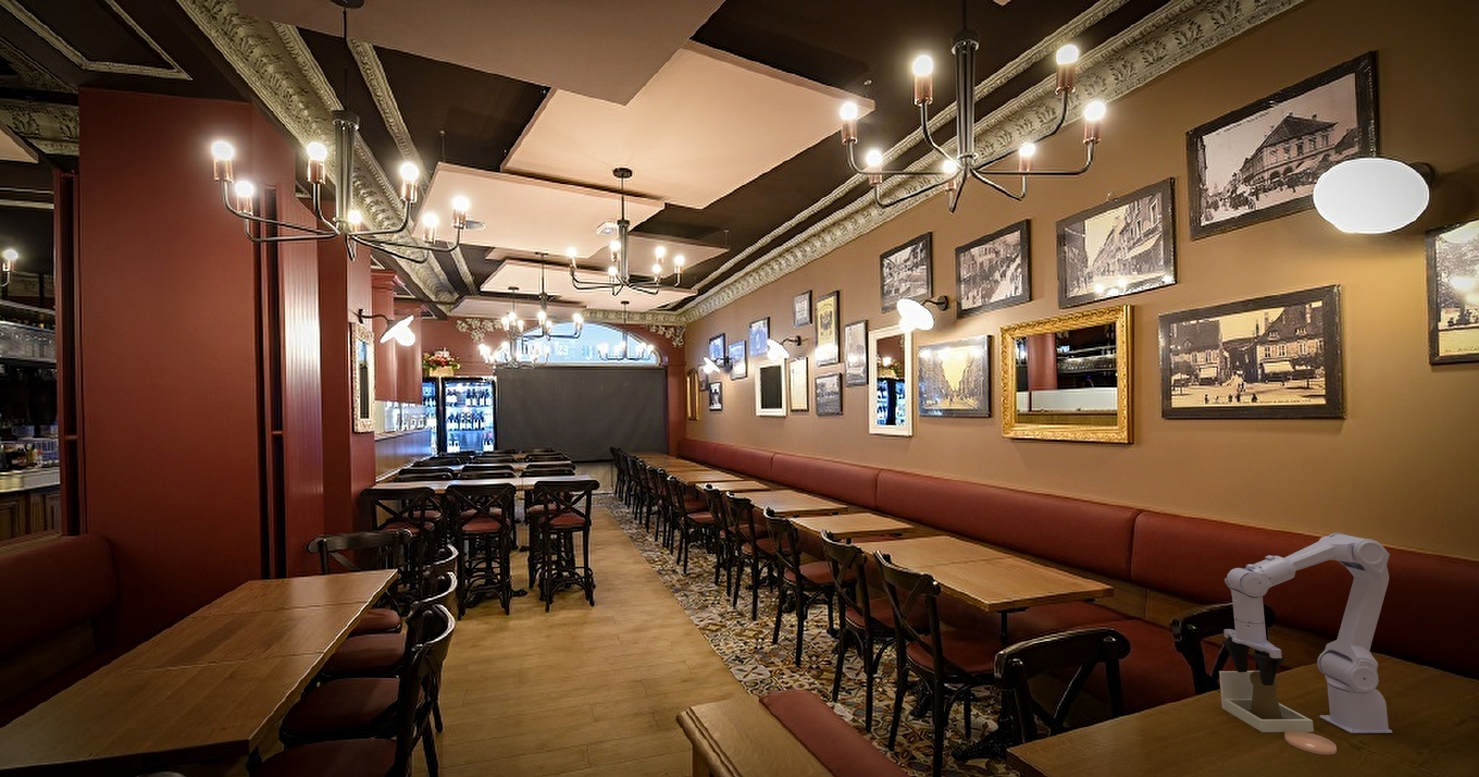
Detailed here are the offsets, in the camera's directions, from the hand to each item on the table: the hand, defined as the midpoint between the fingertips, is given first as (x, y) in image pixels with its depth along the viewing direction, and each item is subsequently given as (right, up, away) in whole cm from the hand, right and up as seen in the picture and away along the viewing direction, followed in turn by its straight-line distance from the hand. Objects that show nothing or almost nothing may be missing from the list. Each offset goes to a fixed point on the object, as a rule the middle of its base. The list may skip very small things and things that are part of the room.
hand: (1254, 678), depth 146 cm
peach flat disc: (+3, -9, -11) cm, 15 cm away
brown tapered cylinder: (+3, -10, 0) cm, 11 cm away
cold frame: (+3, -10, 0) cm, 11 cm away
